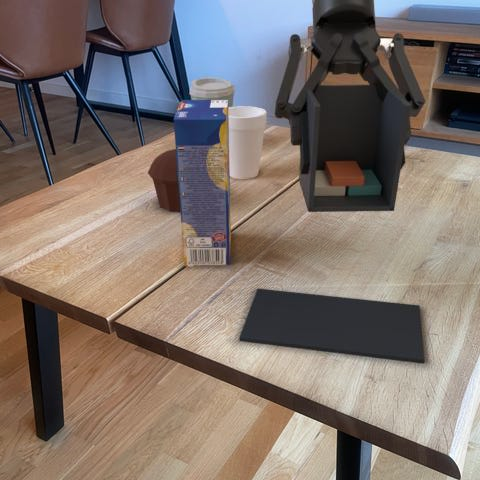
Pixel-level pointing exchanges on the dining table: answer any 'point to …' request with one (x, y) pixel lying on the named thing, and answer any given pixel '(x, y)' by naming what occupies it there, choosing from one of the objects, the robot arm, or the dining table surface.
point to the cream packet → (326, 186)
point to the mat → (335, 325)
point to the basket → (355, 142)
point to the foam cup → (245, 140)
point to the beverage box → (204, 180)
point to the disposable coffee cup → (212, 90)
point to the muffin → (166, 180)
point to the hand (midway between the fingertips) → (352, 168)
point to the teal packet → (366, 185)
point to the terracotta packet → (344, 173)
